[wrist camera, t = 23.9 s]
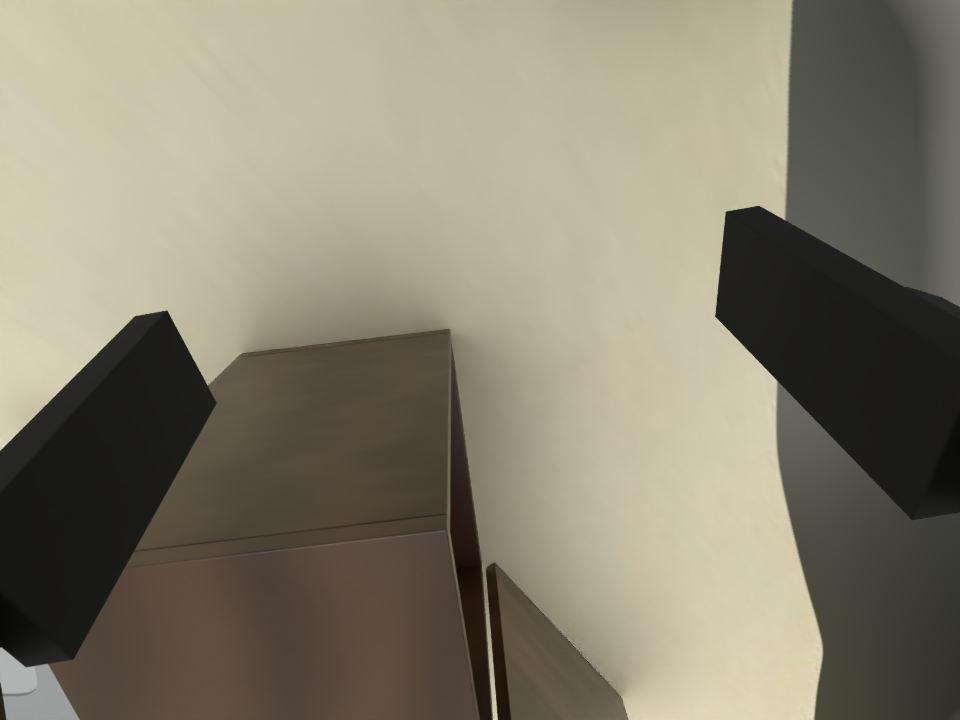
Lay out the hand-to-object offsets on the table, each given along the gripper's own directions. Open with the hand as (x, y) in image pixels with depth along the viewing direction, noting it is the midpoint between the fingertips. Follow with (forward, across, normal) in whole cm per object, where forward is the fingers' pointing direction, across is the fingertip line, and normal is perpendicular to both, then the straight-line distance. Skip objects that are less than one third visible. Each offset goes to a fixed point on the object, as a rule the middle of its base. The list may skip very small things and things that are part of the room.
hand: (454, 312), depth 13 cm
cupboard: (+26, -12, -28) cm, 40 cm away
